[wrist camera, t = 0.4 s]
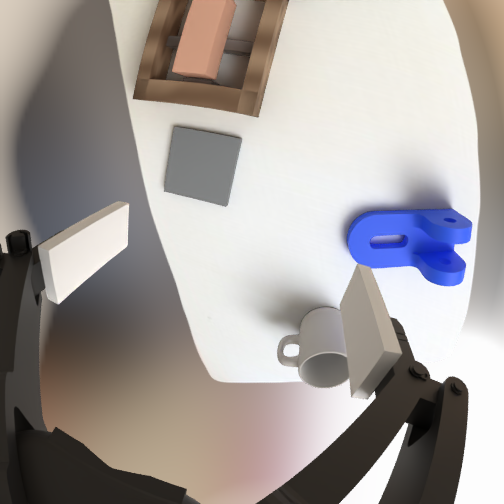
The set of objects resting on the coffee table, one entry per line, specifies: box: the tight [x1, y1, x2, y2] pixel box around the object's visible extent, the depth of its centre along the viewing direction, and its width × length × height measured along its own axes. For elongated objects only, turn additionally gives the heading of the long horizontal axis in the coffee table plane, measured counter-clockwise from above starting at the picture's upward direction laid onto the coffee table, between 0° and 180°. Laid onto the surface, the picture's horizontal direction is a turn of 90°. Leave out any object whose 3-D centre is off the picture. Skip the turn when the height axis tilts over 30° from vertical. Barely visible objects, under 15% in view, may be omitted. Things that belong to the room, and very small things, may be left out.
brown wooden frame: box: [133, 0, 289, 117], centre depth 30 cm, size 21×17×5 cm
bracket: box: [347, 209, 472, 286], centre depth 35 cm, size 18×8×9 cm, turn 97°
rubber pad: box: [164, 127, 242, 207], centre depth 40 cm, size 10×10×1 cm
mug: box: [277, 307, 349, 388], centre depth 43 cm, size 12×8×11 cm
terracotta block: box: [172, 0, 237, 80], centre depth 28 cm, size 12×4×4 cm, turn 167°
